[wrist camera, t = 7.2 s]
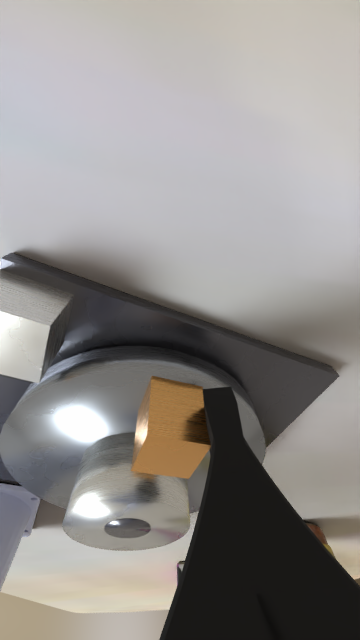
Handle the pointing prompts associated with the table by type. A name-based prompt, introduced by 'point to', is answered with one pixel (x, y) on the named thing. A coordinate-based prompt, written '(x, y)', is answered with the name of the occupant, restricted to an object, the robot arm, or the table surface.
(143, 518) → the cover
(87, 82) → the table surface
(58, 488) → the turntable
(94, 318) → the base plate
